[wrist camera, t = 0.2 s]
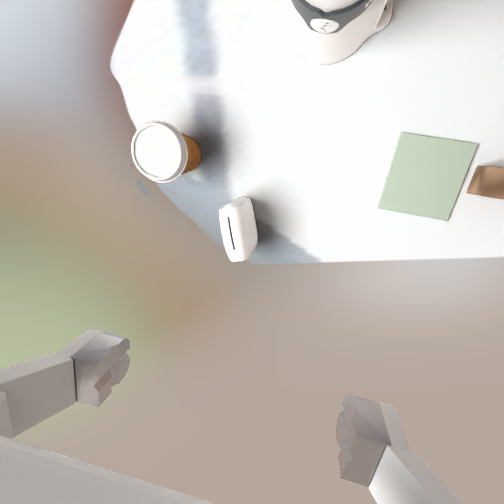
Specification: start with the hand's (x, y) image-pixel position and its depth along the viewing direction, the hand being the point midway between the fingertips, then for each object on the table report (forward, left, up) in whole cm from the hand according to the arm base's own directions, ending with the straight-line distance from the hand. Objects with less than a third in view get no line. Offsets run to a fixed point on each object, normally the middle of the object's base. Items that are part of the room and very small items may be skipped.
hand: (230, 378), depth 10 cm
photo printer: (+5, -8, -48) cm, 49 cm away
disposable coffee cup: (-6, -22, -48) cm, 53 cm away
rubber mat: (-9, +22, -48) cm, 53 cm away
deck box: (-10, +34, -48) cm, 59 cm away
